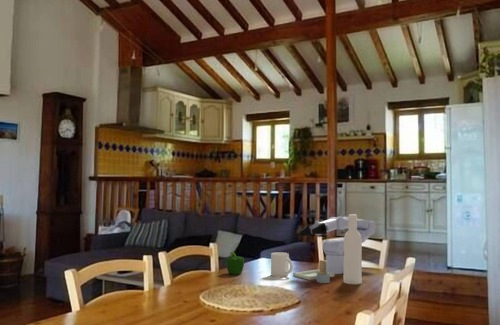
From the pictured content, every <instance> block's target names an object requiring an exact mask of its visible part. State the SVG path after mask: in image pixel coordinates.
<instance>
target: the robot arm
mask: <svg viewBox="0 0 500 325" xmlns="http://www.w3.org/2000/svg"><path fill="white" fill-rule="evenodd" d="M348 217H349V215H344V216H340V215H339V216H330V217H329V218H328V219H325V220H322V221H319V220H314V223H313V224H312V225H311V226H309V224H306V225H305V226H304V227H303V229H301V230H300V231H299V236H300V237H308V238H311V237H312V236H313V235H316V236H322V235H323V236H324V235H327V233H330V232H332V231H335V230H341V231H342V230H344V229H349V218H348ZM376 230H377V224H376V221H374V220H369V219H362V218H357V231H358V232H359V233H360V235H361V238H362V244H363V243H365V242H366V241H367V240H368V239H369V237H371V236H372V235H373V236H374V235H375V233H376ZM322 250H323V252H324V254H325V256H326V257H325V261H327V272H331V273H335V275H341V274H344V237H343V238H339V239H330V240H329V239H326V240H325V239H324V242H323V243H322Z"/></svg>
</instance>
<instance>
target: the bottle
mask: <svg viewBox="0 0 500 325" xmlns="http://www.w3.org/2000/svg"><path fill="white" fill-rule="evenodd" d="M348 218H349V228H348V230H347V231H346V232H345V234H344V236H343V238H344V253H343V255H344V273H343V276H342V277H343V278H342V279H343V283H344V284H347V285H362V281H363V278H362V277H363V275H362V268H363V265H362V262H363V260H362V259H363V258H362V255H363V254H362V253H363V252H362V251H363V248H362V247H363V245H362V244H363V243H362V238H361V235H360V233H359V232H358V231H357V219H358V215H357V214H356V213H355V214H354V213H353V214H352V213H349V214H348Z"/></svg>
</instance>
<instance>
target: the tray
mask: <svg viewBox="0 0 500 325" xmlns="http://www.w3.org/2000/svg"><path fill="white" fill-rule="evenodd" d="M317 273H320V269H312V270H311V269H310V270H305V271H298V272H296V271H295V272H293V277H296V278H299V279H304V280H308V281H313V280H317ZM327 273H329V274H330V278H333V277H335V275H336V274H335V273H331V272H327Z"/></svg>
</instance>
